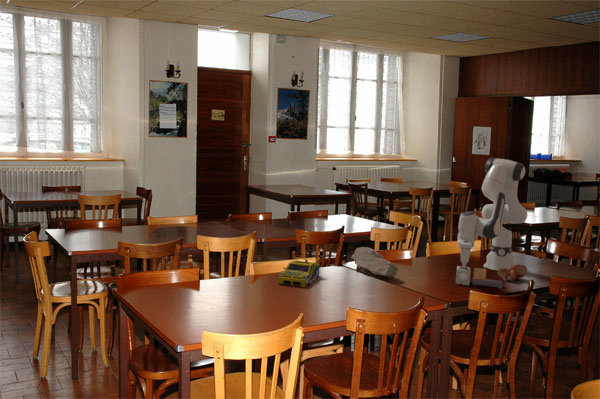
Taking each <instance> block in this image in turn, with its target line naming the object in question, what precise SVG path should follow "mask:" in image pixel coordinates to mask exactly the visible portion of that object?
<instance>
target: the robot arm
mask: <svg viewBox="0 0 600 399" xmlns="http://www.w3.org/2000/svg"><path fill="white" fill-rule="evenodd" d="M484 172H485V177H484V179H483V182H482V185H481V192H482V194H483V195H484V197H486V198H487V199H488V200H490V201H492V202H493V203H490V204H489V203H488V204H485V205H484V206H483V207H482V209H481V216H482V217H480V216H477V214H476V212H474V211H462V212H461V214H459V218H458V219H459V220H458V233H457V241H456V242H457V243H456V245H457V246H458V247H459V250H460V251H459V252H460V262H461V267H462V268H466V267H467V263H469V260H470V256H471V250H472V249H473V248H474V247H475V240H476V236H479V237H484V238H487V239H490V240H491V244H490V252H488V254H487V255H486V258H485V259H486V262H484V264H483V266H482V267H483V268H484V269H489V270H493V271H498V270H499V269H501V268H502V269H504V268H505V269H507V270H509V269H510V267H512V266H513V265H514V262H515V260H514V259H515V256H514V255H513V254H512V252H513V247H512V240H513V233H512V232H511V231H510V230H509V229H507V228H505V227H504V226H503V224H514V225H515V224H523V223H524V222H526V220H527V218H528V211H527V209H526V208H525V207H524V206H523V205H522V204H521V203H520V202H519V199H518V186H519V182H520V181H521V180H523V178H524V176H525V175H526V166H525V165H524V164H523V163H521V162H517V161H513V160H511V159H504V158H497V157H490V158H488V159H487V161H486V162H485V165H484Z"/></svg>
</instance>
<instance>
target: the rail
mask: <svg viewBox="0 0 600 399" xmlns="http://www.w3.org/2000/svg"><path fill="white" fill-rule="evenodd" d="M473 282H474V277H472V283H471V284H472V286H481V287H482V286H484V287H492V288H498V289H503V280H495V279H487V278H486V282H485V284H478V283H473Z"/></svg>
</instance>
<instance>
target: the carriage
mask: <svg viewBox="0 0 600 399" xmlns="http://www.w3.org/2000/svg"><path fill="white" fill-rule="evenodd" d="M473 278H474V282H473V283H478V284H485V282H486V279H487V268H479V267H474V269H473Z"/></svg>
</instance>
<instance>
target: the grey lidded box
mask: <svg viewBox="0 0 600 399" xmlns="http://www.w3.org/2000/svg"><path fill="white" fill-rule="evenodd" d="M460 267H462V265H461V266H459V265H457V266H456V274H455V284H456V285H460V284H462V285H461V286H470V283H471V282H470V281H471V267H469V266H466V267H467V270H466V269H460Z"/></svg>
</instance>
